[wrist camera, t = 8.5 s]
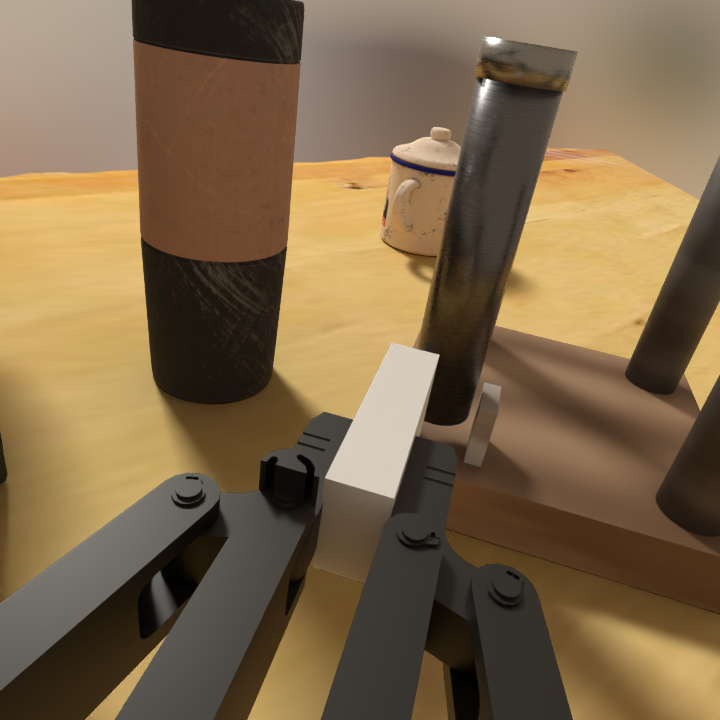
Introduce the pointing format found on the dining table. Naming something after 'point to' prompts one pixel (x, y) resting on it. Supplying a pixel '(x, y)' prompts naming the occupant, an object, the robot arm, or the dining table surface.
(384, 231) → the teacup with lid
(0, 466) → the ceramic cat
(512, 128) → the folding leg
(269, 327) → the travel mug
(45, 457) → the dining table surface
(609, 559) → the stool
